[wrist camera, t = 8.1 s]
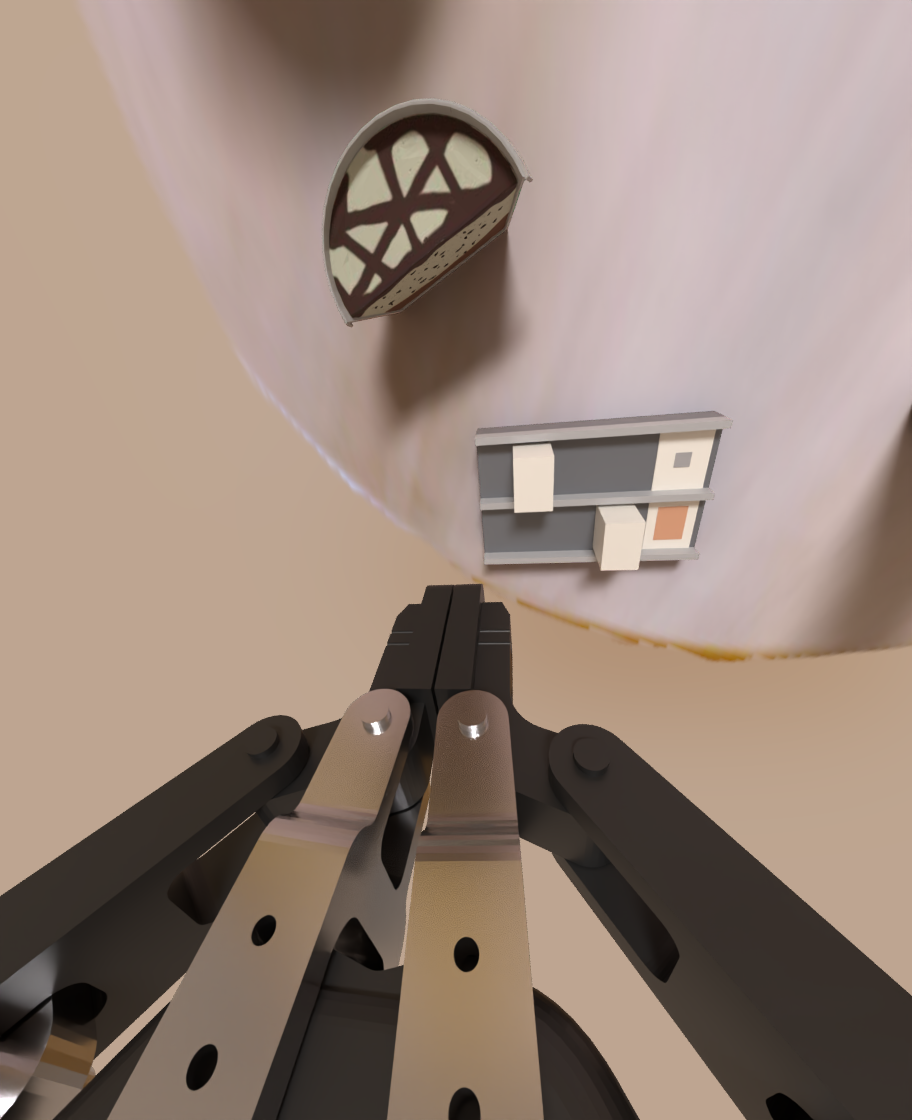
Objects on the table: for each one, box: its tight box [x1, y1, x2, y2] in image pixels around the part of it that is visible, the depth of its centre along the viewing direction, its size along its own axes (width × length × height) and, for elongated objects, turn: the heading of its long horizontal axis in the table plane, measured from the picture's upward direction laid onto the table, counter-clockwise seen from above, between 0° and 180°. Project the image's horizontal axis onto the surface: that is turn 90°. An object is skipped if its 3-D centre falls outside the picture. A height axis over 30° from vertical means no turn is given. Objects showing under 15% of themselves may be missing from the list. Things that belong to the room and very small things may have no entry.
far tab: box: [593, 503, 646, 571], centre depth 34 cm, size 3×4×4 cm
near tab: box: [513, 441, 554, 513], centre depth 32 cm, size 3×4×4 cm
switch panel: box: [475, 411, 733, 565], centre depth 35 cm, size 19×12×3 cm, turn 96°
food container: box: [322, 98, 533, 327], centre depth 24 cm, size 12×6×10 cm, turn 122°
